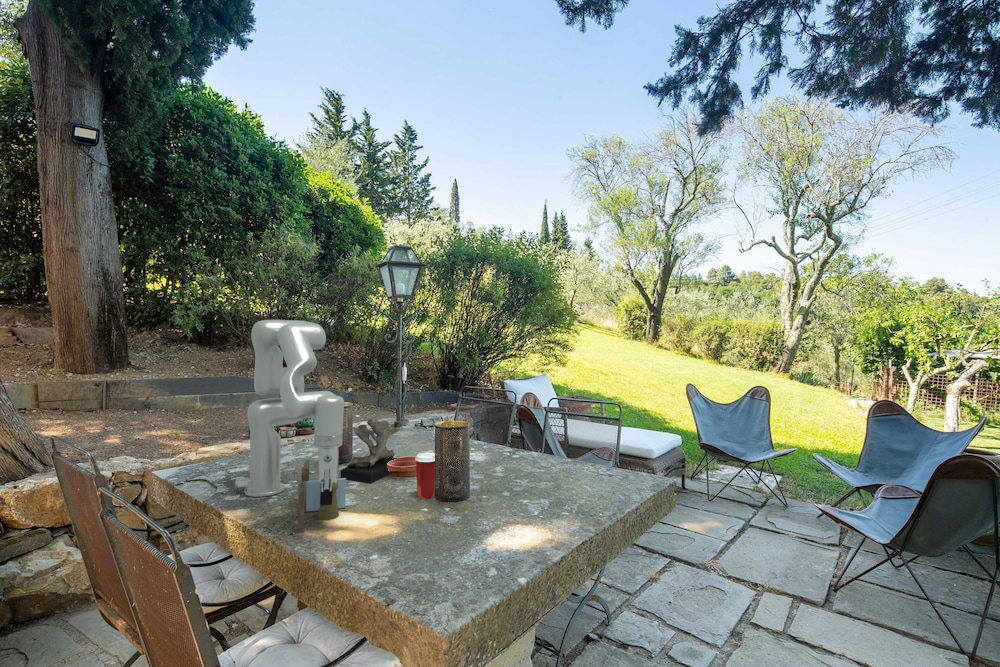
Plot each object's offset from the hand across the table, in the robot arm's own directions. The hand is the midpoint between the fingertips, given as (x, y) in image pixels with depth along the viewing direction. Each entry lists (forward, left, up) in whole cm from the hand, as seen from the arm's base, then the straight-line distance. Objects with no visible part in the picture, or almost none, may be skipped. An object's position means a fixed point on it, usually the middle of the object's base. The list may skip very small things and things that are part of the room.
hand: (326, 503), depth 135 cm
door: (-1, +14, -7) cm, 15 cm away
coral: (+19, +48, -7) cm, 52 cm away
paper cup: (+32, +18, -7) cm, 37 cm away
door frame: (-6, +12, -7) cm, 16 cm away
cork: (+1, +9, -7) cm, 11 cm away
